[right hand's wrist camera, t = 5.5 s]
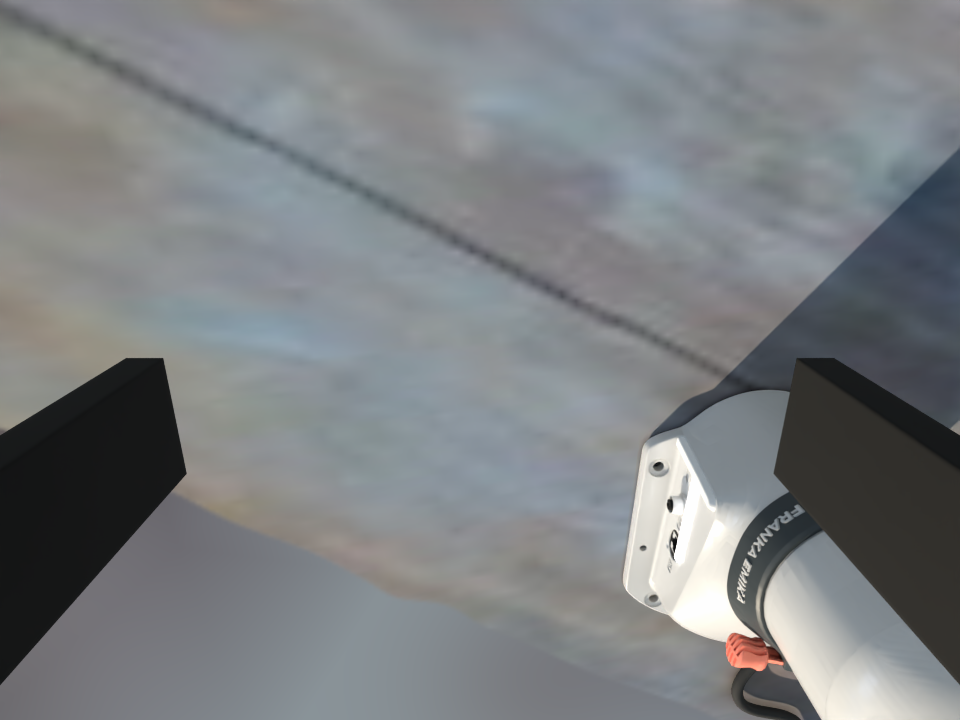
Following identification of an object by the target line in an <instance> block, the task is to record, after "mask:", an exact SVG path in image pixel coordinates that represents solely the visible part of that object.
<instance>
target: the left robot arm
mask: <svg viewBox="0 0 960 720" xmlns="http://www.w3.org/2000/svg"><path fill="white" fill-rule="evenodd" d="M789 394H790V392H787V391H781V390H757V391H751V392H746V393H742V394H738V395H735V396H732V397H729V398H727V399H724V400H722V401H720V402H718V403H716V404H714V405H712V406H711V407H709V408H708V409H706V410H705V411H703V412H702V413H700V414H699V415H698V416H696V417H695V418H694V419H692V420H691V421H690V422H688V423H687V424H685V425H683V426H682V427H679V428H676V429H672V430H669V431H666V432H663V433H660V434H658V435H655V436H653V437H651V438H650V439H648V440H647V441H646V443H645V444H644V446H643V449H642V455H641V462H640V468H639V475H638V481H637V488H636V495H635V501H634V508H633V514H632V521H631V527H630V534H629V540H628V547H627V554H626V560H625V567H624V574H623V584H624V586H625V588H626V590H627V592H628V593H629V594H630V595H631V596H633V597H634V598H635V599H636V600H638V601H639V602H641V603H642V604H644V605H645V606H647V607H650V608H652V609H654V610H656V611H659V612H661V613H664V614H667V615H670V617H671V618H672V619H673V620H674V621H676V622H677V623H678V624H679V625H681V626H682V627H684V628H686V629H687V630H689V631H692V632H694V633H696V634H699V635H701V636H704V637H707V638H710V639H714V640H718V641H722V642H727V643H726V649H727V651H726V654H727V656H728V661H729V662H731V665H732V666H735V667H739V668H741V670H740V671H739V672H738V674H737V676H736V677H735V679H734V682H733V684H732V697H733V700H734V702H735V704H736V705H737V706H738V707H739V708H740V709H741V710H742V711H744V712H746V713H748V714H751V715H754V716H757V717H762V718H768V719H774V720H801V719H799V718H798V717H797V716H796V715H794V714H792V713H790V712H788V711H785V710H782V709H777V708H772V707H766V706H760V705H755V704H752V703H749V702H747V701H746V700H745V699H744V697H743V689H744V686H745V684H746V682H747V681H748V679H749V678H750V677H751V676H752V675H753V673H754V672H755V671H756V670H757V671H762V670H764V669H765V667H766V666H767V663H768V662H769V663H774V664H779V665H782V666H783V668H784V669H785V670H787V671H791V672H794V674H795V676H796V677H797V679H798V681H799V682H800V684H801V686H802V688H803V689H804V691H805V693H806V694H807V696H808V698H809V699H810V701H811V703H812V704H813V706H814V708H815V709H816V711H817V713H818V714H819V716H820V718H821V720H960V685H959V684H958V682H957V681H956V680H955V679H954V678H953V677H952V676H951V675H950V673H949V672H948V671H947V670H946V669H945V668H944V667H943V665H942V664H941V663H940V662H939V661H938V660H937V659H936V658H935V656H934V655H933V654H932V653H931V652H930V651H929V650H928V648H927V647H926V646H925V645H924V644H923V643H922V642H921V641H920V639H919V638H918V637H917V636H916V635H915V634H914V633H913V631H912V630H911V629H910V628H909V627H908V626H907V625H906V624H905V622H904V621H903V620H902V619H901V618H900V617H899V616H898V614H897V613H896V612H895V611H894V610H893V609H892V608H891V607H890V605H889V604H888V603H887V602H886V601H885V600H884V599H883V597H882V596H881V595H880V594H879V593H878V592H877V591H876V589H875V588H874V587H873V586H872V585H871V584H870V583H869V582H868V580H867V579H866V578H865V577H864V576H863V575H862V574H861V572H860V571H859V570H858V569H857V568H856V567H855V566H854V565H853V563H852V562H851V561H850V560H849V559H848V558H847V557H846V555H845V554H844V553H843V552H842V551H841V550H840V549H839V548H838V546H837V545H836V544H835V543H834V542H833V541H832V540H831V538H830V537H829V536H828V535H827V534H826V533H825V532H824V531H823V529H822V528H821V527H820V526H819V525H818V524H817V523H816V521H815V520H814V519H813V518H812V517H811V516H810V515H809V514H808V512H807V511H806V510H805V509H804V508H803V507H802V506H801V504H800V503H799V502H798V501H797V500H796V499H795V498H794V497H793V495H792V494H791V493H790V492H789V491H788V490H787V489H786V487H785V486H784V485H783V484H782V483H781V482H780V481H779V480H778V478H777V477H776V476H775V475H774V474H773V473H774V468H775V463H776V458H777V453H778V448H779V443H780V439H781V434H782V429H783V424H784V419H785V414H786V409H787V404H788V399H789ZM656 462H661V464H660V465H659V466H656V467H655V466H653V465H654V464H655V463H656ZM651 595H654V596H651Z"/></svg>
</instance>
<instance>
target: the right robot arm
mask: <svg viewBox="0 0 960 720" xmlns="http://www.w3.org/2000/svg"><path fill="white" fill-rule="evenodd" d="M186 474H187V473H186V468H185V463H184V458H183V453H182V448H181V443H180V439H179V434H178V429H177V424H176V419H175V414H174V409H173V404H172V399H171V394H170V389H169V385H168V380H167V375H166V370H165V365H164V360H163V358H126V359H124V360H122V361H121V362H119V363H117V364H116V365H114V366H113V367H111V368H109V369H108V370H106V371H104V372H103V373H101V374H100V375H98V376H96V377H95V378H93V379H91V380H90V381H88V382H87V383H85V384H83V385H82V386H80V387H78V388H77V389H75V390H73V391H72V392H70V393H69V394H67V395H65V396H64V397H62V398H60V399H59V400H57V401H56V402H54V403H52V404H51V405H49V406H47V407H46V408H44V409H42V410H41V411H39V412H38V413H36V414H34V415H33V416H31V417H29V418H28V419H26V420H25V421H23V422H21V423H20V424H18V425H16V426H15V427H13V428H11V429H10V430H8V431H7V432H5V433H3V434H2V435H0V685H1V684H2V682H3V681H4V680H5V679H6V678H7V677H8V676H9V675H10V673H11V672H12V671H13V670H14V669H15V668H16V666H17V665H18V664H19V663H20V662H21V661H22V660H23V659H24V657H25V656H26V655H27V654H28V653H29V652H30V651H31V650H32V648H33V647H34V646H35V645H36V644H37V643H38V642H39V641H40V639H41V638H42V637H43V636H44V635H45V634H46V633H47V631H48V630H49V629H50V628H51V627H52V626H53V625H54V623H55V622H56V621H57V620H58V619H59V618H60V617H61V616H62V614H63V613H64V612H65V611H66V610H67V609H68V608H69V606H70V605H71V604H72V603H73V602H74V601H75V600H76V599H77V597H78V596H79V595H80V594H81V593H82V592H83V591H84V589H85V588H86V587H87V586H88V585H89V584H90V583H91V582H92V580H93V579H94V578H95V577H96V576H97V575H98V574H99V572H100V571H101V570H102V569H103V568H104V567H105V566H106V565H107V563H108V562H109V561H110V560H111V559H112V558H113V557H114V555H115V554H116V553H117V552H118V551H119V550H120V549H121V547H122V546H123V545H124V544H125V543H126V542H127V541H128V540H129V538H130V537H131V536H132V535H133V534H134V533H135V532H136V531H137V529H138V528H139V527H140V526H141V525H142V524H143V523H144V521H145V520H146V519H147V518H148V517H149V516H150V515H151V514H152V512H153V511H154V510H155V509H156V508H157V507H158V506H159V504H160V503H161V502H162V501H163V500H164V499H165V498H166V497H167V495H168V494H169V493H170V492H171V491H172V490H173V489H174V487H175V486H176V485H177V484H178V483H179V482H180V481H181V480H182V478H183V477H184V476H185V475H186ZM773 474H774V475H775V476H776V477H777V478H778V480H779V481H780V482H781V483H782V484H783V485H784V486H785V487H786V489H787V490H788V491H789V492H790V493H791V494H792V495H793V497H794V498H795V499H796V500H797V501H798V502H799V503H800V504H801V506H802V507H803V508H804V509H805V510H806V511H807V512H808V514H809V515H810V516H811V517H812V518H813V519H814V520H815V521H816V523H817V524H818V525H819V526H820V527H821V528H822V529H823V531H824V532H825V533H826V534H827V535H828V536H829V537H830V538H831V540H832V541H833V542H834V543H835V544H836V545H837V546H838V548H839V549H840V550H841V551H842V552H843V553H844V554H845V555H846V557H847V558H848V559H849V560H850V561H851V562H852V563H853V565H854V566H855V567H856V568H857V569H858V570H859V571H860V572H861V574H862V575H863V576H864V577H865V578H866V579H867V580H868V582H869V583H870V584H871V585H872V586H873V587H874V588H875V589H876V591H877V592H878V593H879V594H880V595H881V596H882V597H883V599H884V600H885V601H886V602H887V603H888V604H889V605H890V607H891V608H892V609H893V610H894V611H895V612H896V613H897V614H898V616H899V617H900V618H901V619H902V620H903V621H904V622H905V624H906V625H907V626H908V627H909V628H910V629H911V630H912V631H913V633H914V634H915V635H916V636H917V637H918V638H919V639H920V641H921V642H922V643H923V644H924V645H925V646H926V647H927V648H928V650H929V651H930V652H931V653H932V654H933V655H934V656H935V658H936V659H937V660H938V661H939V662H940V663H941V664H942V665H943V667H944V668H945V669H946V670H947V671H948V672H949V673H950V675H951V676H952V677H953V678H954V679H955V680H956V681H957V682H958V684H959V685H960V435H958V434H957V433H955V432H953V431H952V430H950V429H949V428H947V427H945V426H944V425H942V424H940V423H939V422H937V421H935V420H934V419H932V418H931V417H929V416H927V415H926V414H924V413H922V412H921V411H919V410H918V409H916V408H914V407H913V406H911V405H909V404H908V403H906V402H904V401H903V400H901V399H900V398H898V397H896V396H895V395H893V394H891V393H890V392H888V391H887V390H885V389H883V388H882V387H880V386H878V385H877V384H875V383H873V382H872V381H870V380H869V379H867V378H865V377H864V376H862V375H860V374H859V373H857V372H856V371H854V370H852V369H851V368H849V367H847V366H846V365H844V364H843V363H841V362H839V361H838V360H836V359H834V358H797V360H796V365H795V370H794V375H793V380H792V385H791V389H790V394H789V399H788V404H787V409H786V414H785V419H784V424H783V429H782V434H781V439H780V443H779V448H778V453H777V458H776V463H775V468H774V473H773Z"/></svg>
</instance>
